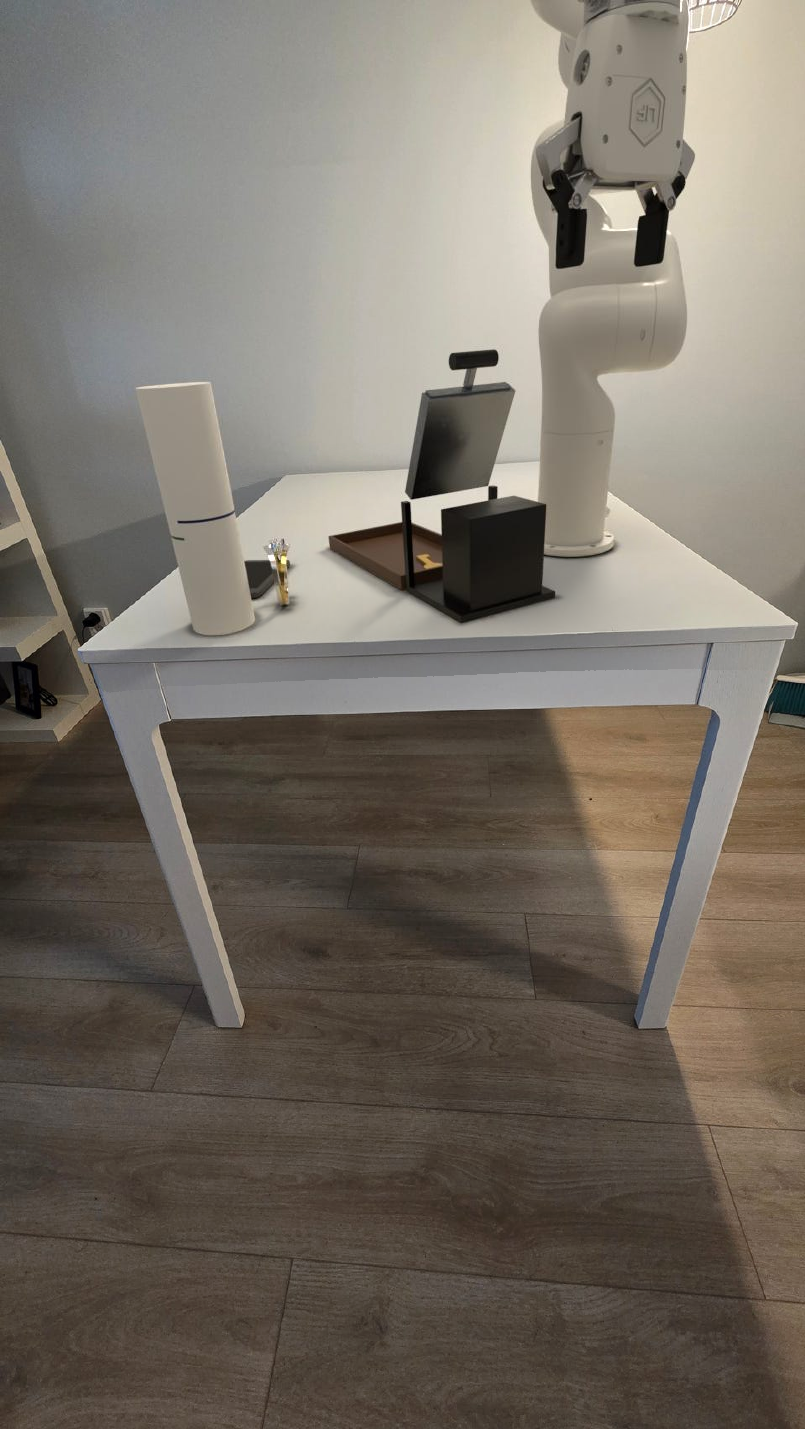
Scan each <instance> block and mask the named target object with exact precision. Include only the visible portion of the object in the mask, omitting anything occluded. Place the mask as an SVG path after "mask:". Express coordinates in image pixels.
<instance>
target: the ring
mask: <svg viewBox="0 0 805 1429" xmlns="http://www.w3.org/2000/svg"><path fill="white" fill-rule="evenodd" d="M268 542H269V544H266V545H263V546H262V548H263V549H264V551H265V553H266V554H267V556H268V560H270V563H271V567H272V572H273V577H274V583H273V584H274V588H275V592H276V596H277V600H278V603H279V605H281V606H289V605H290V585H289V584H290V583H289V575H288V574H289V572H288V568H287V565H286V560H287V556H288V551H289V549H290V546H291V545H290V543H285V538H280V541H279V542H278V538H274V539H273V540H272V539H271V540H269V541H268ZM279 557H280V558H279ZM280 560H281V563H280ZM278 572H279V573H278ZM279 576H280V577H279Z"/></svg>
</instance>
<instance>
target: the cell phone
mask: <svg viewBox="0 0 805 1429" xmlns="http://www.w3.org/2000/svg"><path fill="white" fill-rule="evenodd" d="M279 560H280V563H281V559H279ZM244 563H245V568H246V573H247V579H248V584H249V590H250V595H251V599H255V598H260V597H261V596H262V595H263V594H265V592H266V591H268V589H269V588H270V587H271V586H272V585H273V584H275V583H274V577H273V572H272V567H271V563H270V559H248V560H247V559H246V560H244ZM286 565H287V569H288V568H290V566H291V561H290V560H289V559H286ZM278 573H279V572H278ZM279 578H280V576H279Z"/></svg>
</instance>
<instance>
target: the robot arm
mask: <svg viewBox="0 0 805 1429" xmlns="http://www.w3.org/2000/svg"><path fill="white" fill-rule="evenodd" d="M529 1H530V4H531V6H532V8H533V10H534V12H535V13H536V15H537V16H538V17H539V18H540V19H541V20H542V21H544V23H546V24H547V25H548V26H550V27H552V28H553V29H555V30H556V31H557V32H559V33H560V38H559V39H560V40H559V46H558V54H557V56H558V60H557V63H558V64H557V65H558V71H559V75H560V78H561V81H562V83H563V85H564V86H565V88H566V89H567V95H566V102H565V110H564V111H565V112H564V119H560V120H558V121H556V122H554V123H552V124H550V125H549V126H548V127H546V128H544V130H543V131H541V133H540V134H539V136H538V137H537V139H536V141H535V144H534V145H533V148H532V154H531V162H530V190H531V198H532V200H531V201H532V206H533V211H534V216H535V218H536V222H537V225H538V227H539V229H540V231H541V233H542V236H543V238H544V240H545V242H546V244H547V247H548V277H549V278H548V280H549V281H548V282H549V283H548V284H549V293H550V298H549V299H548V300H547V301H546V303H545V304H544V306H543V307H542V309H541V312H540V315H539V320H538V328H537V329H538V330H537V331H538V332H537V333H538V347H539V348H538V349H539V359H540V369H541V421H540V422H541V424H540V425H541V426H540V442H539V443H540V444H539V445H540V447H539V467H538V486H537V488H538V489H537V502H540V503H544V504H546V524H545V543H544V556H545V555H546V556H554V557H564V558H565V557H566V558H569V557H570V558H571V557H572V558H574V557H575V558H576V557H586V556H594V555H599V554H602V553H606V552H607V551H609V550H611V549H612V548H614V545H615V536H614V534H612V533H611V532H610V531H607V530H605V525H606V524H605V523H606V518H608V517H609V516H610V513H611V509H610V507H609V506H608V494H609V483H610V474H611V464H612V454H613V445H614V434H615V425H616V409H615V407H614V404H613V401H612V399H611V397H610V396H609V394H607V392H606V391H605V389H604V388H603V387H602V385H601V384H600V382H599V381H598V377H600V376H603V375H608V374H619V373H622V374H623V373H635V372H636V373H637V372H639V373H640V372H650V371H658V370H661V369H664V368H666V367H668V366H669V365H671V364H672V363H673V362H674V361H675V360H676V358H677V357H678V356H679V355H680V352H681V351H682V349H683V347H684V343H685V340H686V336H687V328H688V326H687V325H688V305H687V296H686V289H685V284H684V283H685V282H684V277H683V270H682V263H681V257H680V250H679V247H678V242H677V239H676V237H675V235H674V234H673V233H672V232H671V231H669V230H668V224H669V216H670V212H672V211H673V210H674V209H675V207H676V205H677V199H678V198H679V197H680V195H681V194H682V192H683V191H684V190H685V187H686V183H687V181H686V180H687V179H688V177H689V174H690V172H691V169H692V167H693V165H694V162H695V160H696V152H695V151H694V150H693V149H692V148H691V146H690V145H689V144H688V143H687V142H686V140H685V139H684V130H685V119H686V106H687V105H686V103H687V102H686V101H687V81H688V80H687V79H688V54H687V53H688V51H687V50H688V43H689V35H690V24H691V22H690V20H691V19H690V18H691V17H690V7H689V2H688V0H529ZM653 188H655V191H656V193H654V190H653ZM625 192H636V194H637V197H638V199H639V202H640V205H641V208H642V210H643V212H644V215H639V216H638V220H637V227H635V228H625V229H613V223H612V219H611V217H610V215H609V213H608V212H607V210H606V209H605V207H604V206H603V205H602V204H601V203H600V201H598V200H597V199H595V197H593V196H594V195H604V194H614V193H616V194H617V193H625Z"/></svg>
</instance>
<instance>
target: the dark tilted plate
mask: <svg viewBox="0 0 805 1429" xmlns="http://www.w3.org/2000/svg"><path fill="white" fill-rule="evenodd" d="M499 359H500V357H499V352H498V350H497V349H482V350H469V351H457V352H451V353H450V354H449V355H448V366H449V369H450V370H451V371H463V370H465V374H464V379H463V384H462V386H453V387H446V388H445V387H444V388H443V387H442V388H435V389H426V390H425V391H423V392H421V397H420V401H419V407H418V414H417V420H416V425H415V431H414V437H413V444H412V449H411V453H410V454H411V456H410V459H409V460H410V461H409V467H408V471H407V472H408V473H407V478H406V483H405V489H404V493H405V494H406V495H407V497H408V498H409V500H411V501H413V500H418V499H423V498H430V497H435V496H440V495H446V494H451V493H457V492H463V491H468V490H474V489H479V488H480V489H481V488H485V487H488V486H490V485H489V484H490V481H491V478H492V474H493V471H494V467H495V465H496V464H495V463H496V460H497V457H498V453H499V451H500V446H501V443H502V440H503V436H504V433H505V429H506V426H507V422H508V419H509V415H510V412H511V408H512V404H513V401H514V397H515V394H516V392H517V391H516V389H515V388H514V387H512V385H511V384H510V383H507V381H502V382H501V381H500V382H492V383H491V382H490V383H482V384H474V383H475V378H476V375H477V370H478V369H482V368H485V369H486V368H494V367H497V365H498V364H499Z"/></svg>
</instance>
